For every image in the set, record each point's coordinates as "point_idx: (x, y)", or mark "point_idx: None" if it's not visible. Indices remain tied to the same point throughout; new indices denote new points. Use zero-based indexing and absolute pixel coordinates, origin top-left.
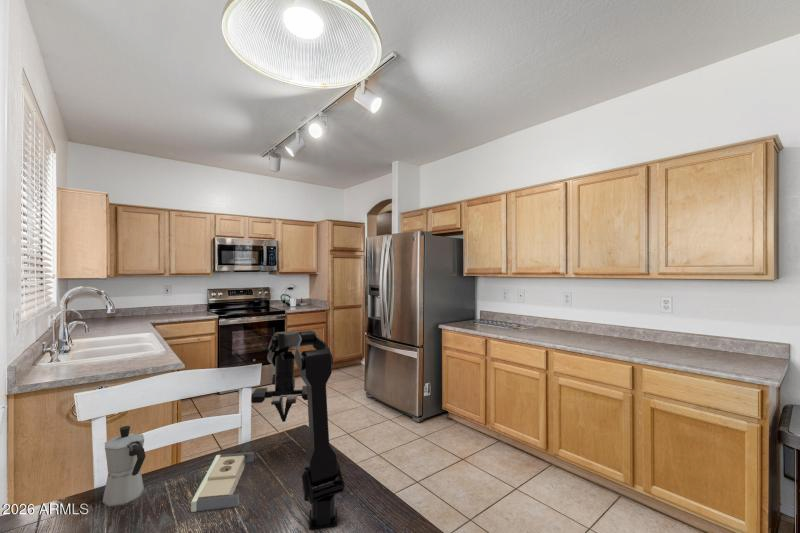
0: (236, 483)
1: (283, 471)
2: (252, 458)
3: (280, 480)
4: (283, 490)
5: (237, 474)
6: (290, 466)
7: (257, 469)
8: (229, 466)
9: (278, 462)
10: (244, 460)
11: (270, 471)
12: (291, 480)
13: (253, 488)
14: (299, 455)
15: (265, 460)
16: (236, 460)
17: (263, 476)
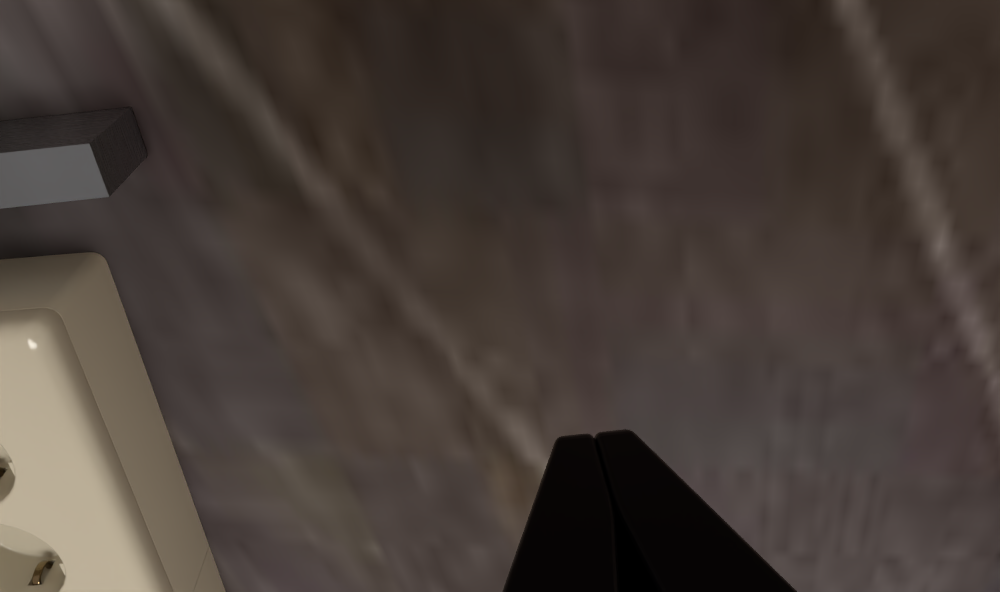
0: (194, 542)
1: (563, 353)
2: (126, 174)
3: None
4: None
5: (167, 573)
6: (624, 272)
7: (277, 307)
8: (11, 521)
9: (473, 184)
10: (74, 307)
11: (430, 347)
12: None
13: (359, 552)
14: (720, 29)
15: (295, 127)
16: (16, 441)
17: (386, 417)
